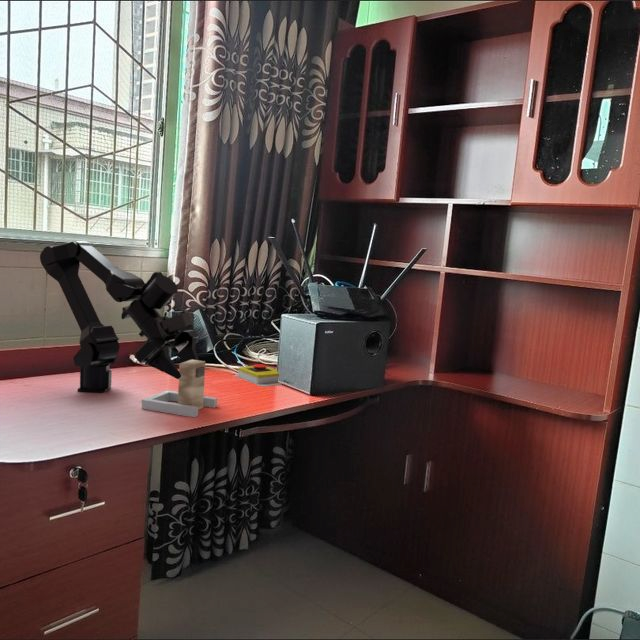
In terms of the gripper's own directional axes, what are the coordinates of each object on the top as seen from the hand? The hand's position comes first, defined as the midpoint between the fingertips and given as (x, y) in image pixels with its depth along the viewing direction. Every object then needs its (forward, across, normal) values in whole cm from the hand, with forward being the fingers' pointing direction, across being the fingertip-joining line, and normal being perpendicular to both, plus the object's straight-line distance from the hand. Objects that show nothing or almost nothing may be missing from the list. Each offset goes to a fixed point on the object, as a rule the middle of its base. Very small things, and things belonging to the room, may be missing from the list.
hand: (190, 374), depth 140 cm
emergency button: (+8, +37, +5) cm, 38 cm away
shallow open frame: (+4, 0, +7) cm, 8 cm away
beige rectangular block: (+6, 0, +6) cm, 8 cm away
